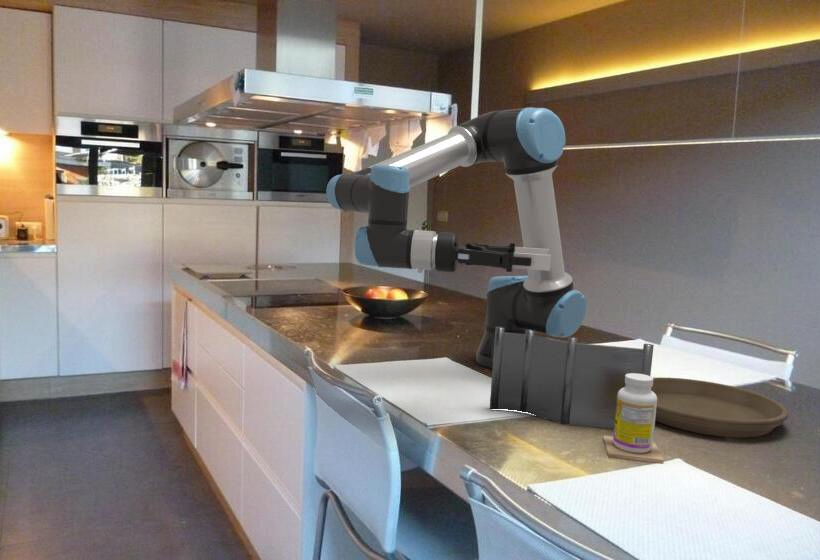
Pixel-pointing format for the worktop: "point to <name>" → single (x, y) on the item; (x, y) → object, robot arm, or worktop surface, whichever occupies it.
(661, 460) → the coaster
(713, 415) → the plant saucer
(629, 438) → the supplement bottle
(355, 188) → the robot arm
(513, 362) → the grey ribbed panel
